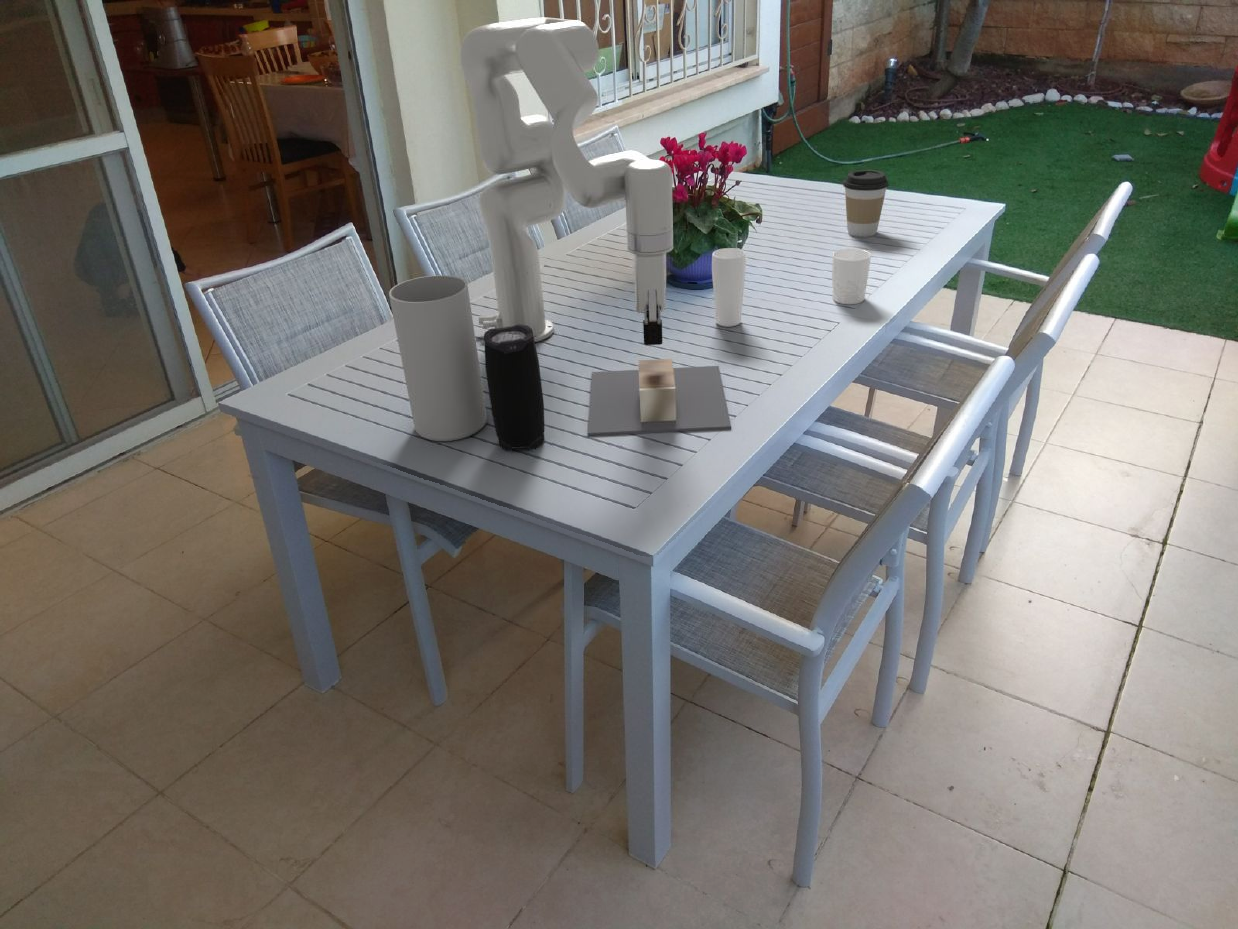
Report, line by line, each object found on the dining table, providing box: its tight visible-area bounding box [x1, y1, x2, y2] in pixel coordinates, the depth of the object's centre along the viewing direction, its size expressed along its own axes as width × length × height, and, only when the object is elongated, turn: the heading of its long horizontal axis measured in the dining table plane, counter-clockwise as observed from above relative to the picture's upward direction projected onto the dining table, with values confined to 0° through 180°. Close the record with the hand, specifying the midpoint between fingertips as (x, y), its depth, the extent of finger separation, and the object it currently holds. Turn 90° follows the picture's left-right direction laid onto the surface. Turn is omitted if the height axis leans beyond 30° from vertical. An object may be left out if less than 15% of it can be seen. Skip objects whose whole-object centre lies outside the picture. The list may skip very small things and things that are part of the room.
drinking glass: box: [711, 247, 747, 328], centre depth 191 cm, size 7×7×15 cm
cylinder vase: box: [388, 274, 488, 442], centre depth 156 cm, size 12×12×25 cm
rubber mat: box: [587, 365, 732, 437], centre depth 166 cm, size 24×24×1 cm
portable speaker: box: [483, 324, 545, 452], centre depth 150 cm, size 9×9×20 cm
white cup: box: [831, 248, 872, 305], centre depth 200 cm, size 8×8×10 cm
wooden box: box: [637, 358, 676, 422], centre depth 162 cm, size 6×6×12 cm
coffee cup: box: [842, 169, 890, 238], centre depth 238 cm, size 11×11×15 cm
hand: (653, 342), depth 162 cm, fingers closed
